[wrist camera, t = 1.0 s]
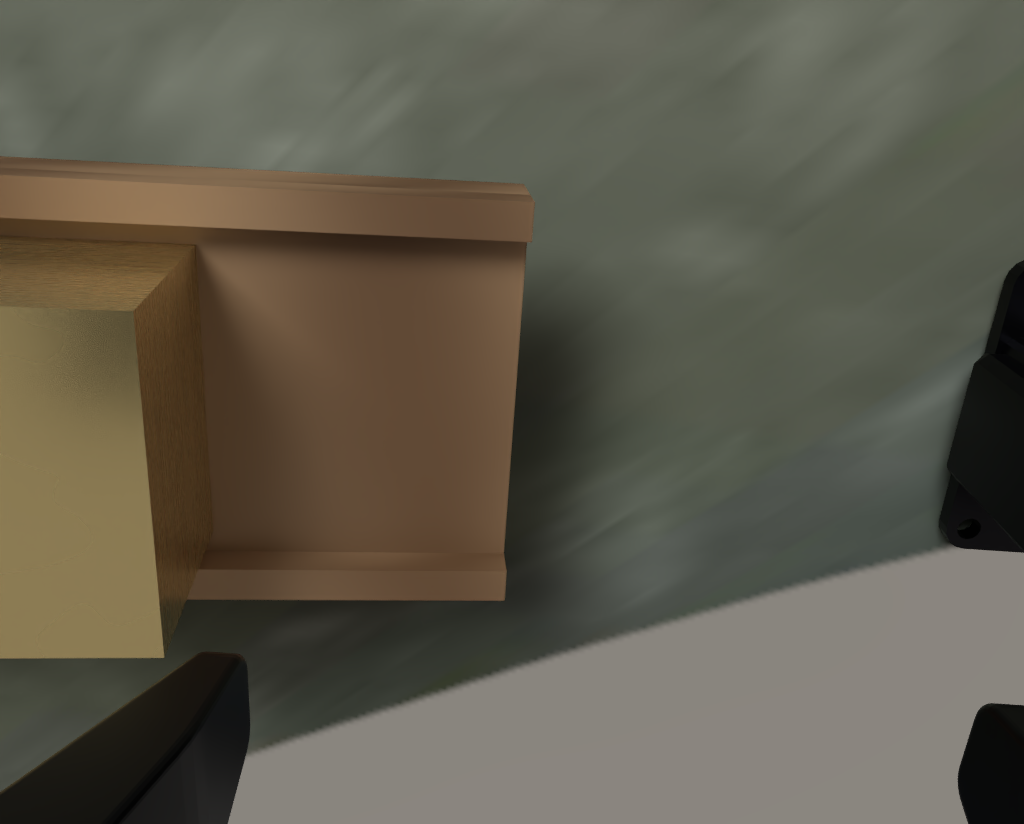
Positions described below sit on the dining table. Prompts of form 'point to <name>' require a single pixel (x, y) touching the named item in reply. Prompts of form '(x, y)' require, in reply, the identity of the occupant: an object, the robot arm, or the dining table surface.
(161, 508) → the brass rider
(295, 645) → the dining table surface
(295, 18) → the dining table surface
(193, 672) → the robot arm
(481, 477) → the balance beam
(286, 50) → the dining table surface
